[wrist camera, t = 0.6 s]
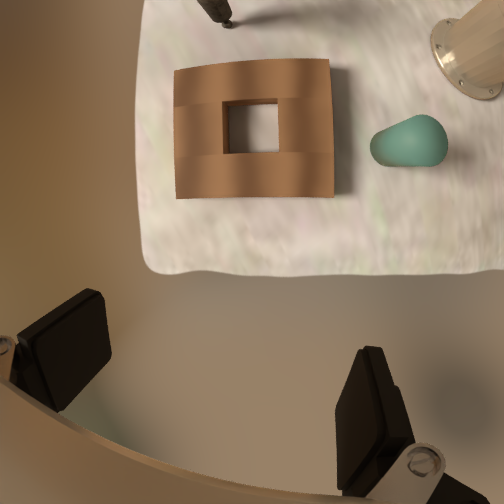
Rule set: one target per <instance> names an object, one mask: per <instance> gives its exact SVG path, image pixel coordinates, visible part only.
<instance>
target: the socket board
mask: <svg viewBox="0 0 504 504" xmlns="http://www.w3.org/2000/svg"><path fill="white" fill-rule="evenodd" d="M259 104H278V124H279V152H264V153H236V154H229V122H228V106H241V105H259ZM174 164H175V187H176V199H192V198H224V197H326V198H334V136H333V111H332V93H331V79H330V67H329V59H265V60H250V61H238V62H228V63H220V64H212V65H205V66H198V67H192V68H186V69H180V70H175V71H174Z"/></svg>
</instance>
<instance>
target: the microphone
mask: <svg viewBox="0 0 504 504" xmlns="http://www.w3.org/2000/svg"><path fill="white" fill-rule="evenodd" d="M197 1H198V2H199V4H200V5H201V6H202V7H203V9H204V10H205V11H206V12H207V14H208V15H209V16H210V18H211V19H212V20H213V21H214V22H217V23H222V26H223V27H224V28H230V27H231V26H232V22H231V21H230V20H229V19H230V17H231V16H232V11H231V8H230V6H229V4H228V1H227V0H197Z"/></svg>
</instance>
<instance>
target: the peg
mask: <svg viewBox="0 0 504 504" xmlns="http://www.w3.org/2000/svg"><path fill="white" fill-rule="evenodd" d="M447 150H448V139H447V135H446V132H445V130H444V128H443V127H442V125H441V124H440V123H439V122H438V121H437V120H436V119H434V118H432V117H430V116H428V115H416V116H414V117H412V118H409V119H407V120H405V121H402V122H400V123H398V124H396V125H394V126H391V127H389V128H387V129H385V130H382V131H380V132H378V133H377V134H375V135H374V136H373V138H372V140H371V143H370V151H371V154H372V156H373V158H374V159H375V160H376V161H377V162H378V163H379V164H381V165H383V166H427V167H430V166H435V165H437V164H439V163H440V162H442V161H443V159H444V158H445V156H446V154H447Z"/></svg>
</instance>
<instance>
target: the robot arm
mask: <svg viewBox="0 0 504 504" xmlns="http://www.w3.org/2000/svg"><path fill="white" fill-rule="evenodd" d="M431 48H432V52H433V55H434V58H435V60H436V62H437V64H438V66H439V68H440V69H441V71H442V72H443V74H444V75H445V76H446V78H447V79H448V80H449V81H450V82H451V83H452V84H453V85H454V86H455V87H456V88H457V89H459V90H460V91H461V92H462V93H464V94H466V95H468V96H470V97H472V98H475V99H480V100H485V99H490V98H493V97H495V96H496V95H497V94H498V93H499V92H500V91H501V89H502V86H503V82H504V0H482V1H480V2H479V3H478V4H477V5H476V6H475V7H474V8H472V9H471V10H470V11H469V12H468V13H467V14H465V15H464V16H463V17H462V18H461V19H460V20H459V19H455V18H448V19H444V20H442V21H440V22H439V23H438V24H437V25H436V26H435V27H434V29H433V30H432V34H431ZM17 338H18V341H19V343H18V344H17V345H16V343H15V341H14V339H13V338H11V337H9V336H4V335H1V336H0V504H490V503H489V501H488V500H487V498H486V497H484V496H483V495H482V494H480V493H478V492H476V491H474V490H473V489H471V488H469V487H468V486H466V485H464V484H462V483H461V482H459V481H457V480H456V479H454V478H452V477H451V476H449V475H447V474H446V473H444V470H445V467H446V462H445V458H444V456H443V454H442V453H441V452H440V450H439V449H437V448H436V447H434V446H433V445H430V444H428V443H415V439H414V435H413V432H412V428H411V425H410V421H409V418H408V414H407V411H406V408H405V405H404V401H403V398H402V395H401V392H400V390H399V387H398V386H395V385H394V382H393V379H392V376H391V373H390V370H389V368H388V364H387V361H386V358H385V355H384V352H383V350H382V348H381V347H374V346H365V347H364V348H363V350H362V349H359V350H358V352H357V354H356V357H355V360H354V362H353V365H352V368H351V370H350V373H349V376H348V378H347V381H346V383H345V386H344V388H343V390H342V393H341V395H340V398H339V400H338V402H337V405H336V409H335V422H336V445H337V488H338V490H342V496H334V495H322V494H309V493H298V492H290V491H283V490H275V489H269V488H263V487H256V486H251V485H246V484H241V483H236V482H231V481H227V480H222V479H218V478H214V477H210V476H206V475H203V474H199V473H195V472H192V471H188V470H185V469H182V468H179V467H176V466H173V465H170V464H167V463H164V462H161V461H158V460H155V459H153V458H150V457H147V456H145V455H142V454H140V453H137V452H135V451H132V450H130V449H127V448H125V447H123V446H120V445H118V444H116V443H114V442H111V441H109V440H107V439H105V438H103V437H101V436H99V435H97V434H95V433H93V432H91V431H89V430H87V429H85V428H83V427H81V426H79V425H77V424H75V423H74V422H72V421H70V420H68V419H67V418H65V417H63V416H61V415H60V414H58V412H59V411H62V410H64V409H65V408H66V407H67V406H68V405H69V404H70V403H71V402H72V400H73V399H74V398H75V397H76V396H77V395H78V394H79V393H80V392H81V391H82V390H83V388H84V387H85V386H86V385H87V384H88V383H89V382H90V380H92V379H93V378H94V376H95V375H96V374H97V373H98V372H99V371H100V370H101V369H102V368H103V367H104V366H105V365H106V364H107V363H108V361H109V360H110V359H111V355H112V352H111V345H110V339H109V332H108V325H107V317H106V308H105V300H104V298H103V296H102V294H101V293H100V292H99V291H96V290H92V289H89V288H86V289H84V290H83V291H81V292H80V293H78V294H76V295H75V296H74V297H72V298H70V299H69V300H67V301H66V302H64V303H63V304H61V305H60V306H58V307H57V308H55V309H54V310H52V311H51V312H49V313H48V314H46V315H45V316H43V317H42V318H40V319H39V320H37V321H36V322H34V323H33V324H31V325H30V326H29V327H27V328H26V329H24V330H23V331H21V332H20V333H18V334H17Z"/></svg>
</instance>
